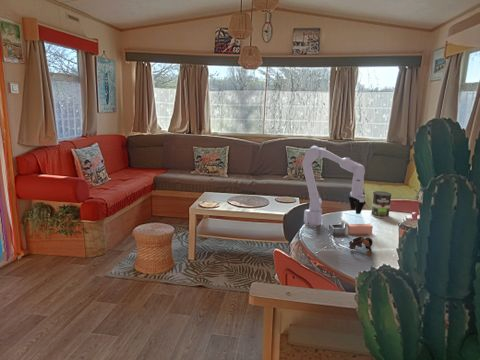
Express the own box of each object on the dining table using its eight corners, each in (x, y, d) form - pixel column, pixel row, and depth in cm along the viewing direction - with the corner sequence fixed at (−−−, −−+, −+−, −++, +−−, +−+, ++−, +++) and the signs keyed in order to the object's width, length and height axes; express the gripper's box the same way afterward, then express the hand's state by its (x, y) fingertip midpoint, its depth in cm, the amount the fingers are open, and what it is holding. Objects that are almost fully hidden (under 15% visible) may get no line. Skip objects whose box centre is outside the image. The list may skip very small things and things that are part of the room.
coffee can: (390, 218, 211) (393, 195, 208) (372, 217, 213) (375, 194, 210) (386, 213, 221) (389, 191, 218) (369, 212, 223) (371, 190, 220)
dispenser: (333, 238, 180) (334, 224, 178) (327, 231, 190) (328, 218, 188) (370, 237, 181) (371, 224, 179) (362, 230, 191) (363, 218, 189)
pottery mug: (366, 260, 156) (357, 243, 157) (350, 261, 164) (342, 245, 165) (381, 247, 163) (373, 231, 163) (366, 249, 171) (358, 233, 171)
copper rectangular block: (349, 233, 183) (349, 226, 182) (346, 231, 187) (347, 224, 186) (371, 233, 184) (372, 226, 183) (369, 231, 187) (369, 223, 187)
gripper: (370, 190, 181) (368, 215, 184) (359, 183, 196) (357, 207, 199) (357, 190, 181) (354, 215, 184) (347, 183, 195) (345, 207, 198)
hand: (355, 211), depth 191 cm, fingers open, 7 cm apart
